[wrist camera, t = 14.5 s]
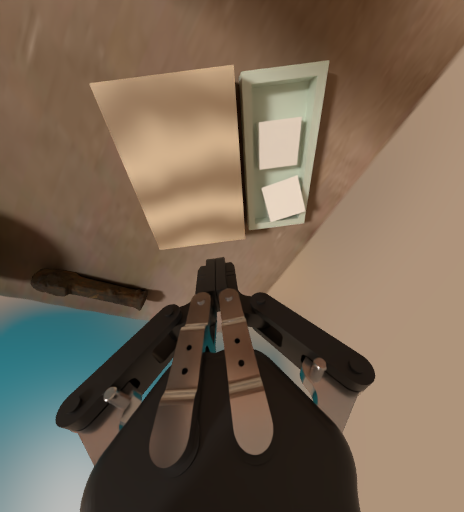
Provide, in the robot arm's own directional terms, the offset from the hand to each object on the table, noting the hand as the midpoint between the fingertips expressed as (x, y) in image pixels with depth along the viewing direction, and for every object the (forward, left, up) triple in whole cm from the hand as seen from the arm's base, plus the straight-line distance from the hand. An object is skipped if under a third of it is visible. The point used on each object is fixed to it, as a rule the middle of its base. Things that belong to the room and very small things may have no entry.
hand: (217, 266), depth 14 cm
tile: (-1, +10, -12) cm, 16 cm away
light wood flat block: (-5, -3, -16) cm, 17 cm away
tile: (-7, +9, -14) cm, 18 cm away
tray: (-5, +9, -16) cm, 19 cm away
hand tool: (+14, -27, -17) cm, 34 cm away
